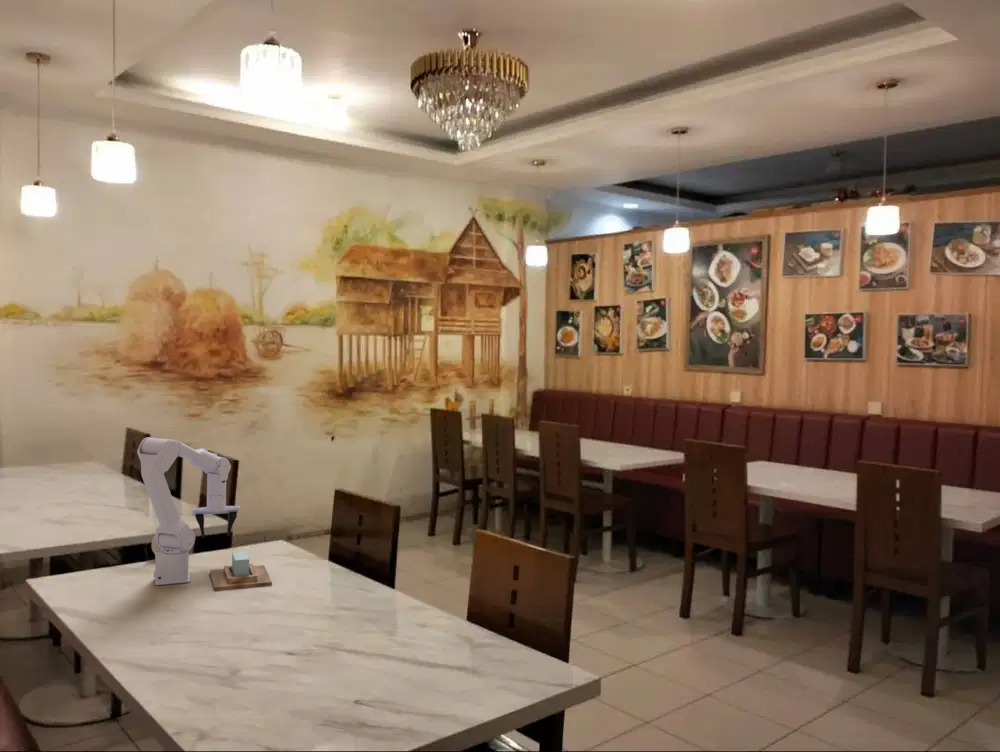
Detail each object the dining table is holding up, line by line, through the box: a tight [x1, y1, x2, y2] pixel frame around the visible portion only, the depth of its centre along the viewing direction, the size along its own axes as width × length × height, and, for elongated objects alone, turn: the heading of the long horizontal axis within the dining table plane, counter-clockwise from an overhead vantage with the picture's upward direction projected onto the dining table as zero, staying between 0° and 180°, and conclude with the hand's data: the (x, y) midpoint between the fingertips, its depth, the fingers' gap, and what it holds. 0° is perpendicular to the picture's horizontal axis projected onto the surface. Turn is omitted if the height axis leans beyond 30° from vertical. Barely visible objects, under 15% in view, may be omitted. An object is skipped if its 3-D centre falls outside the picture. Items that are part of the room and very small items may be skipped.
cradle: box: [209, 563, 273, 592], centre depth 226 cm, size 16×18×2 cm
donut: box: [150, 534, 161, 555], centre depth 246 cm, size 10×4×10 cm, turn 139°
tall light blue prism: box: [231, 551, 250, 577], centre depth 227 cm, size 4×9×6 cm, turn 25°
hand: (215, 536), depth 239 cm, fingers open, 7 cm apart
